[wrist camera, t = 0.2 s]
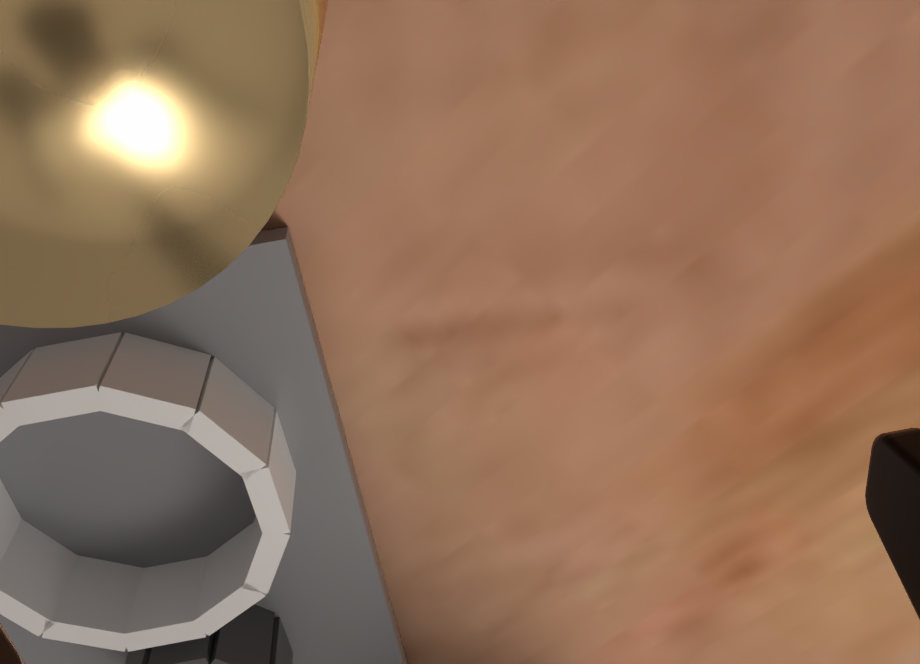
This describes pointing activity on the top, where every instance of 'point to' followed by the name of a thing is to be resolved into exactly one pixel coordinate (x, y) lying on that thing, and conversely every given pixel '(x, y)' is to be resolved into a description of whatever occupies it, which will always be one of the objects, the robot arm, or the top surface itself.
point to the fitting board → (186, 486)
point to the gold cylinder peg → (142, 146)
